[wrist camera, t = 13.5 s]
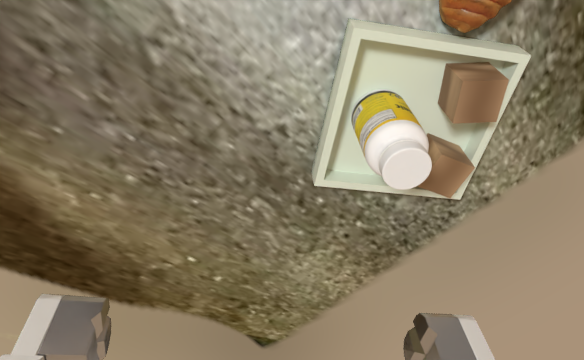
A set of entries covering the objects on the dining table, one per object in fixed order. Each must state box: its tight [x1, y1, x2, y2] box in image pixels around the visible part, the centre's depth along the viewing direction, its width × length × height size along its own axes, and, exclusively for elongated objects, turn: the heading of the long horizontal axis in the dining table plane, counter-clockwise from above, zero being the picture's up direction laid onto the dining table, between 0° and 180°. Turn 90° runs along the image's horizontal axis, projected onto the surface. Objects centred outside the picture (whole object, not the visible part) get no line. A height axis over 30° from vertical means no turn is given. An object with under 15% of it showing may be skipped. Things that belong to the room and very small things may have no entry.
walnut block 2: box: [418, 133, 475, 198], centre depth 45 cm, size 4×4×4 cm
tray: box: [311, 18, 531, 200], centre depth 43 cm, size 16×16×2 cm
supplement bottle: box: [351, 89, 432, 190], centre depth 39 cm, size 5×5×10 cm
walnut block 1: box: [438, 62, 509, 124], centre depth 40 cm, size 4×4×4 cm
